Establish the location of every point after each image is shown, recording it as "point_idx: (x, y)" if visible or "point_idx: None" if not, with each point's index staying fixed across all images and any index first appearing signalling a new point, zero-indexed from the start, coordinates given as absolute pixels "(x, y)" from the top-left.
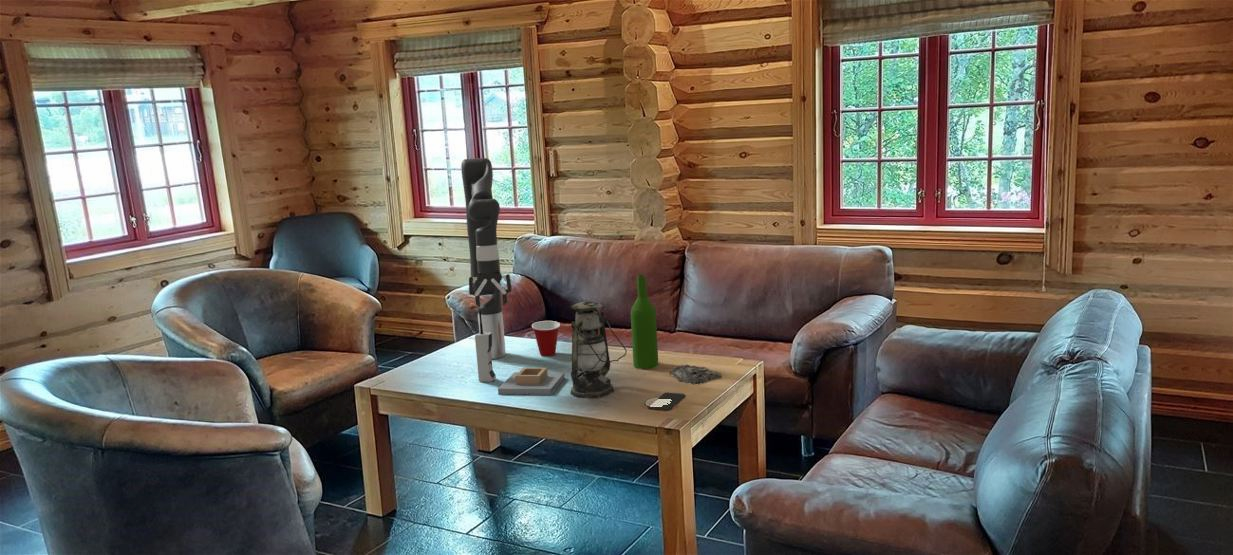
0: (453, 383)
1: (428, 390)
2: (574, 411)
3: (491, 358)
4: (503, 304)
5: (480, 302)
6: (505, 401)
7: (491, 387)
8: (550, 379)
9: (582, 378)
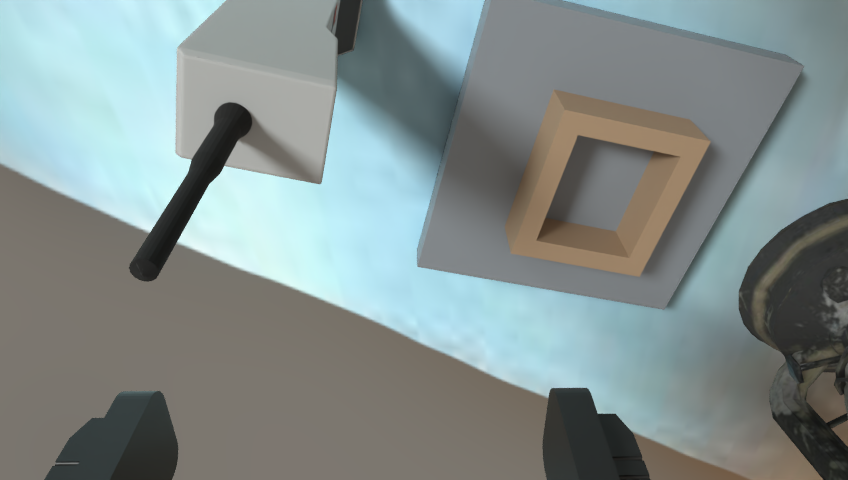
0: (107, 21)
1: (11, 127)
2: (701, 444)
3: (334, 8)
4: (549, 462)
5: (136, 434)
6: (457, 331)
7: (365, 142)
8: (692, 180)
9: (831, 345)
